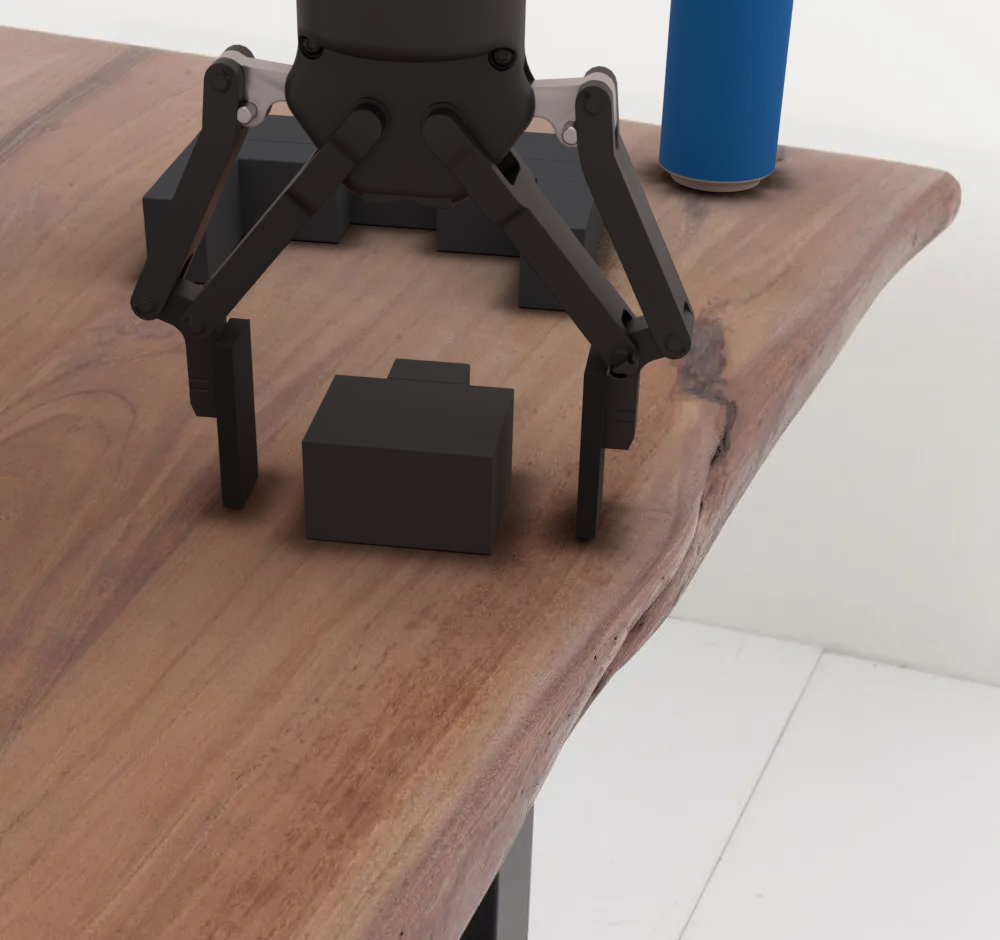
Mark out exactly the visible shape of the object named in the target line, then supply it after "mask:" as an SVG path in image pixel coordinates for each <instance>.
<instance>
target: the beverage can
mask: <svg viewBox="0 0 1000 940" xmlns="http://www.w3.org/2000/svg"><path fill="white" fill-rule="evenodd" d="M794 2H795V1H794V0H670V8H669V17H668V19H669V20H668V33H667V45H666V58H665V59H666V60H665V70H664V71H665V72H664V83H663V84H664V86H663V88H664V89H663V100H662V111H661V124H660V125H661V127H660V136H659V137H660V140H659V151H658V152H659V153H658V164H659V165H660V167H661V168H662V169H663V170H665V172H667V173H669V174H670V177H671V179H672V180H673V181H674V182H676V184H679V185H681V186H683V187H686V188H689V189H693V190H697V191H703V192H712V193H734V192H735V193H736V192H741V191H747V190H750V189H753V188H754V187H756V186H758V185H759V184H760V182H761V180H763V179H765V178H767V177H769V176H771V174H773V173H774V171H775V169H776V161H777V154H778V143H779V136H780V135H779V134H780V126H781V116H782V108H783V98H784V90H785V81H786V73H787V72H786V71H787V63H788V54H789V46H790V35H791V26H792V18H793V9H794Z"/></svg>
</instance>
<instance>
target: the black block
mask: <svg viewBox="0 0 1000 940" xmlns="http://www.w3.org/2000/svg"><path fill="white" fill-rule="evenodd" d="M514 408H515V389H514V388H513V387H512V388H509V387H500V386H499V387H497V386H487V385H474V384H471V365H470V364H469V363H463V362H450V361H449V362H448V361H439V360H438V361H437V360H425V359H424V360H423V359H414V358H413V359H410V358H400V357H398V358H397V357H396V358H395V359H394V360H393V363H392V366H391V368H390V370H389V373H388V375H387V377H386V378H384V377H373V376H361V375H350V374H335V375H334V377H333V379H332V381H331V383H330V385H329V386H328V388H327V390H326V392H325V395H324V397H323V398H322V401H321V402H320V404H319V406H318V408H317V410H316V413H315V414H314V416H313V418H312V420H311V422H310V425H309V426H308V428H307V431H306V432H305V434H304V436H303V438H302V440H301V456H302V457H301V458H302V460H301V461H302V482H303V483H302V484H303V507H304V508H303V510H304V511H303V513H304V533H305V539H312V540H319V541H320V540H321V541H322V540H323V541H333V542H343V543H344V542H345V543H355V544H356V543H357V544H366V545H367V544H368V545H377V546H390V547H401V548H413V549H424V550H436V551H445V552H456V553H457V552H458V553H467V554H478V555H479V554H481V555H491V554H492V552H493V547H494V544H495V541H496V537H497V533H498V529H499V526H500V523H501V519H502V516H503V512H504V509H505V505H506V501H507V499H508V498H507V497H508V496H509V495H508V494H509V491H510V487H511V484H512V475H513V473H512V472H513V471H512V470H513V444H514V443H513V440H514V439H513V438H514V410H515V409H514Z"/></svg>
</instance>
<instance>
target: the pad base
mask: <svg viewBox="0 0 1000 940" xmlns="http://www.w3.org/2000/svg"><path fill="white" fill-rule="evenodd" d="M200 132H201V130H200V131H199V132H198V133H197V134H196V135H195V137H194V138H193V139H192V140H191V142H189V144H188V145H187V146H186V147H185V148H184V149H183V151H182V152H181V153H180V154H179V155H178V156H177V157H176V158H175V159H174V160H173V161H172V163H171V164H170V165H169V166H168V167H167V168H166V170H164V172H163V173H162V174H161V175H160V177H158V179H157V180H156V181H155V182H154V183H153V185H152V186H151V187H150V188H149V189H148V191H146V193H145V194H144V195H143V196H142V197H141V202H142V212H143V225H144V236H145V248H146V249H145V250H146V259H147V258H148V255H149V253H150V251H151V248H152V246H153V244H154V241H155V239H156V236H157V234H158V232H159V229H160V227H161V224H162V222H163V220H164V217H165V215H166V213H167V210H168V208H169V205H170V203H171V201H172V198H173V196H174V194H175V191H176V189H177V186H178V184H179V182H180V179H181V177H182V175H183V172H184V170H185V167H186V165H187V163H188V160H189V158H190V156H191V153H192V151H193V148H194V146H195V144H196V141H197V139H198V137H199V134H200ZM513 148H514V149H515V151H516V152H517V153H518V155H519V156H520V157H521V159H522V160H523V161H524V163H525V164H526V165H527V167H528V168H529V169H530V171H531V172H532V174H533V176H534V179H535V182H536V184H537V186H538V188H539V189H540V190H541V192H542V193H543V194H544V196H545V197H546V198H547V200H548V201H549V202H550V204H551V205H552V206H553V208H554V209H555V210H556V212H557V213H558V214H559V216H560V217H561V218H562V219H563V221H564V222H565V223H566V225H567V226H568V227H569V229H570V230H571V231H572V233H573V234H574V235H575V237H576V238H577V239H578V241H579V242H580V243H581V244H582V246H583V247H584V248H585V250H586V251H587V252H588V254H589V255H590V256H591V258H592V259H593V260H594V261H595V260H596V255H597V251H598V247H599V243H600V240H601V236H602V232H603V228H604V226H605V224H604V222H603V219H602V217H601V215H600V212H599V210H598V208H597V205H596V203H595V201H594V198H593V196H592V194H591V191H590V189H589V187H588V184H587V182H586V179H585V177H584V174H583V171H582V168H581V163H580V159H579V154H578V148H569V147H567V146H564V145H563V144H562V143H560V141H559V140H558V138H557V136H556V133H552V132H550V133H549V132H537V131H524V133H523V134H522V135H521V137H520V138H519V139H518V140H517V142H516V143H515V144H514V146H513ZM316 150H317V148H316V147H315V145H314V144H313V142H312V141H311V140H310V138H309V137H308V135H307V134H306V132H305V131H304V130H303V128H302V127H301V125H300V124H299V123H298V121H297V120H296V118H295V117H294V116H293V115H282V114H268V115H267V117H266V118H265V119H264V120H263V122H262V123H261V124H260V125H258V126H256V127H249V129H248V132H247V135H246V138H245V140H244V142H243V145H242V147H241V149H240V151H239V154H238V156H237V158H236V161H235V163H234V165H233V168H232V170H231V172H230V174H229V177H228V179H227V181H226V184H225V186H224V188H223V190H222V193H221V195H220V197H219V200H218V202H217V204H216V206H215V209H214V211H213V213H212V216H211V218H210V220H209V222H208V225H207V227H206V229H205V232H204V234H203V236H202V238H201V241H200V243H199V245H198V248H197V250H196V252H195V255H194V257H193V259H192V261H191V264H190V266H189V268H188V271H187V273H186V275H185V277H184V279H185V280H188V281H190V282H192V283H197V284H198V283H199V284H205V283H207V282H208V280H209V279H210V278H211V277H212V276H213V274H214V273H215V272H216V271H217V270H218V268H219V267H220V266H221V265H222V264H223V262H224V261H225V260H226V259H227V258H228V256H229V255H230V254H231V253H232V252H233V250H234V249H235V248H236V247H237V245H238V244H239V243H240V242H239V241H240V240H241V239H242V238H243V237H245V236H246V235H247V234H248V232H249V231H250V230H251V229H252V228H253V226H254V225H255V224H256V223H257V222H258V220H259V219H260V218H261V217H262V215H263V214H264V213H265V212H266V211H267V209H268V208H269V207H270V206H271V205H272V203H273V202H274V201H275V200H276V199H277V197H278V196H279V195H280V194H281V193H282V191H283V190H284V189H285V188H286V187H287V185H288V184H289V183H290V182H291V181H292V179H293V178H294V177H295V176H296V175H297V173H298V172H299V171H300V170H301V168H302V167H303V166H304V165H305V163H306V162H307V161H308V160H309V158H310V157H311V156H312V155H313V153H314V152H315V151H316ZM350 224H359V225H372V226H386V227H400V228H413V229H428V230H436V250H437V251H442V252H456V253H457V252H458V253H467V254H481V255H482V254H483V255H494V256H495V255H496V256H511V257H519V269H518V270H519V271H518V273H519V274H518V301H517V303H518V308H526V309H527V308H528V309H541V310H554V311H565V310H564V309H563V308H562V307H561V305H560V304H559V303H558V301H557V300H556V299H555V297H554V296H553V295H552V294H551V292H550V291H549V290H548V288H547V287H546V286H545V285H544V283H543V282H542V281H541V279H540V278H539V277H538V276H537V274H536V273H535V272H534V270H533V269H532V268H531V267H530V265H529V264H528V263H527V261H526V260H525V259H524V258H523V256H522V255H521V254H520V252H519V251H518V250H517V249H516V247H515V246H514V245H513V243H512V242H511V241H510V240H509V238H508V237H507V236H506V234H505V233H504V232H503V231H502V230H501V229H500V228H498V227H495V226H494V225H493V224H492V223H491V222H490V221H489V220H488V219H487V218H486V216H485V215H484V214H483V212H482V211H481V210H480V209H479V207H478V206H477V205H476V203H475V202H474V201H473V200H472V198H471V197H470V198H469V199H467V200H465V201H463V202H460V203H457V204H454V205H453V208H452V209H438V208H429V207H426V206H423V205H420V204H417V203H414V202H411V201H401V202H396V203H391V204H386V205H380V204H365V203H363V198H362V197H360V196H358V195H356V194H354V193H352V192H351V191H349V190H348V189H347V188H346V187H345V186H344V185H343V184H342V183H341V184H340V185H339V186H338V187H337V188H336V190H335V191H334V192H333V193H332V194H331V195H330V197H329V198H328V199H327V200H326V201H325V202H324V204H323V205H322V206H321V207H320V208H319V209H318V211H317V212H316V213H315V214H314V215H313V216H312V217H311V218H310V219H309V220H308V221H307V222H306V224H305V225H304V226H303V227H302V228H301V230H300V231H299V232H298V233H297V234H296V235H295V237H294V238H293V239H292V240H291V241H293V240H294V241H307V242H323V243H335V244H338V243H340V241H341V239H342V238H343V236H344V234H345V233H346V231H347V229H348V228H349V226H350Z"/></svg>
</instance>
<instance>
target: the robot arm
mask: <svg viewBox="0 0 1000 940" xmlns="http://www.w3.org/2000/svg"><path fill="white" fill-rule="evenodd" d="M295 6H296V7H295V8H296V9H295V10H296V31H297V32H296V33H297V34H296V35H297V50H296V54H295V57H294V61H293V63H292V64H289V63H283V62H277V61H272V60H266V59H260V58H256V57H255V55H254V54H253V52H252V51H251V50H250V48H248V46H245V45H242V44H232V45H229V46H227V48H226V49H225V50H224V51H223V52H222V53H221V54H220V55H218V56H217V58H216V59H215V60H214V61H213V62H212V63H211V64H210V65H209V66H208V67H207V69H206V70H205V72H204V74H203V75H204V76H203V87H202V111H201V112H202V113H201V129H200V131H201V132H200V131H199V132H200V134H199V137H198V139H197V141H196V144H195V146H194V148H193V151H192V153H191V156H190V158H189V160H188V163H187V165H186V167H185V170H184V172H183V175H182V177H181V179H180V182H179V184H178V186H177V189H176V191H175V194H174V196H173V198H172V201H171V203H170V205H169V208H168V210H167V213H166V215H165V217H164V220H163V222H162V224H161V227H160V229H159V232H158V234H157V236H156V239H155V241H154V244H153V246H152V248H151V251H150V253H149V255H148V258H147V257H146V260H145V263H144V265H143V268H142V270H141V272H140V274H139V277H138V279H137V282H136V284H135V287H134V289H133V291H132V294H131V297H130V301H129V304H130V308H131V310H132V312H133V313H134V315H135V316H136V317H137V318H139V319H141V320H144V321H154V320H159V321H161V322H164V323H166V324H169V325H171V326H173V327H174V328H175V329H177V330H178V331H179V333H180V334H181V335H182V337H183V339H184V343H185V353H186V366H187V367H186V369H187V378H188V388H189V389H188V393H189V404H190V406H191V409H192V410H193V412H194V415H195V416H196V417H198V418H199V417H200V418H212V419H216V429H217V431H216V432H217V442H218V444H217V445H218V456H219V457H218V458H219V459H218V460H219V461H218V462H219V473H220V475H219V476H220V488H221V489H220V490H221V500H222V501H221V502H222V503H221V504H222V508H232V509H243V508H244V505H245V504H246V502H247V500H248V497H249V496H250V494H251V492H252V490H253V488H254V486H255V485H256V483H257V481H258V479H259V459H258V442H257V426H256V424H257V423H256V422H257V421H256V406H255V386H254V370H253V369H254V368H253V352H252V334H251V319H250V318H240V317H239V318H238V317H229V319H228V320H227V317H228V316H229V314H230V313H231V312H232V311H233V310H234V308H236V307H237V306H238V304H239V302H241V300H242V299H243V298H244V297H245V296H246V294H247V293H248V292H249V291H250V290H251V289H252V287H253V286H254V285H255V284H256V282H258V280H259V279H260V278H261V277H262V275H263V274H264V273H265V272H266V271H267V270H268V268H269V267H270V266H272V264H273V262H274V261H275V260H276V259H277V258H278V257H279V255H281V253H282V252H283V251H284V250H285V249H286V247H287V246H289V244H290V242H291V241H293V240H292V239H293V238H294V237H295V235H296V234H297V233H298V232H299V231H300V230H301V228H302V227H303V226H304V225H305V224H306V222H307V221H308V220H309V219H310V218H311V217H312V216H313V215H314V214H315V213H316V212H317V211H318V209H319V208H320V207H321V206H322V205H323V204H324V202H325V201H326V200H327V199H328V198H329V197H330V195H331V194H332V193H333V192H334V191H335V190H336V188H337V187H338V186H339V185H340V184H341V183H342V184H343V185H344V186H345V187H346V188H347V189H348V190H349V191H351V192H352V193H354V194H356V195H358V196H360V197H362V198H363V203H365V204H380V205H386V204H391V203H396V202H401V201H411V202H414V203H417V204H420V205H423V206H426V207H429V208H438V209H452V208H453V205H454V204H457V203H460V202H463V201H465V200H467V199H469V198H470V197H471V198H472V200H473V201H474V202H475V203H476V205H477V206H478V207H479V209H480V210H481V211H482V212H483V214H484V215H485V216H486V218H487V219H488V220H489V221H490V222H491V223H492V224H493V225H494V226H495V227H498V228H500V229H501V230H502V231H503V232H504V233H505V234H506V236H507V237H508V238H509V240H510V241H511V242H512V243H513V245H514V246H515V247H516V249H517V250H518V251H519V252H520V254H521V255H522V256H523V258H524V259H525V260H526V261H527V263H528V264H529V265H530V267H531V268H532V269H533V270H534V272H535V273H536V274H537V276H538V277H539V278H540V279H541V281H542V282H543V283H544V285H545V286H546V287H547V288H548V290H549V291H550V292H551V294H552V295H553V296H554V297H555V299H556V300H557V301H558V303H559V304H560V305H561V307H562V308H563V309H564V310H563V311H564V312H565V314H567V316H568V317H569V318H570V320H572V322H573V323H574V325H575V326H576V327H577V329H578V330H579V331H580V332H581V334H582V335H583V336H584V337H585V339H586V340H587V341H588V343H589V344H590V347H589V351H588V354H587V359H586V364H585V367H584V373H583V381H582V382H583V383H582V401H581V420H580V421H581V422H580V423H581V424H580V438H579V439H580V441H579V444H580V445H579V458H578V459H579V460H578V476H577V477H578V480H577V496H576V497H577V499H576V519H575V536H574V537H576V538H586V539H587V538H588V539H596V537H597V532H598V527H599V523H600V522H599V521H600V517H601V512H602V506H603V492H604V478H605V477H604V474H605V460H606V459H605V458H606V449H608V450H620V451H629V450H630V447H631V445H632V443H633V442H634V440H635V435H636V430H637V424H638V415H639V399H640V398H639V397H640V384H641V371H642V369H644V367H645V366H647V364H649V363H651V362H653V361H656V360H660V359H664V358H666V359H669V360H680V359H682V358H684V357H686V356H687V355H688V354H689V353H690V351H691V347H692V343H693V336H694V329H695V328H694V327H695V318H696V317H695V312H694V309H693V306H692V304H691V301H690V299H689V297H688V294H687V291H686V290H685V287H684V285H683V283H682V280H681V277H680V275H679V273H678V271H677V267H676V266H675V264H674V261H673V259H672V256H671V254H670V253H671V252H670V250H669V249H668V246H667V244H666V242H665V239H664V237H663V234H662V231H661V229H660V227H659V225H658V222H657V220H656V218H655V215H654V212H653V209H652V208H651V205H650V203H649V200H648V198H647V196H646V193H645V190H644V188H643V186H642V183H641V182H640V178H639V176H638V174H637V171H636V170H635V169H636V168H635V167H634V165H633V162H632V160H631V157H630V155H629V152H628V150H627V147H626V145H625V142H624V141H623V138H622V135H621V131H620V110H619V107H620V106H619V90H618V89H619V88H618V86H619V85H618V80H617V75H616V74H615V73H614V72H613V70H612V69H609V68H608V67H606V66H601V65H597V66H592V67H591V68H589V69H588V70H587V71H586V72H585V74H584V75H583V76H581V77H565V78H564V77H563V78H543V79H535V76H534V75H533V73H532V71H531V69H530V66H529V63H528V59H527V55H526V18H527V17H526V16H527V15H526V14H527V13H526V12H527V0H295ZM280 102H285V103H286V105H287V107H288V110H289V111H290V113H291V114H292V116H294V117H295V118H296V120H297V121H298V123H299V124H300V125H301V127H302V128H303V130H304V131H305V132H306V134H307V135H308V137H309V138H310V140H311V141H312V142H313V144H314V145H315V147H316V148H317V150H316V151H315V152H314V153H313V155H312V156H311V157H310V158H309V160H308V161H307V162H306V163H305V165H304V166H303V167H302V168H301V170H300V171H299V172H298V173H297V175H296V176H295V177H294V178H293V179H292V181H291V182H290V183H289V184H288V185H287V187H286V188H285V189H284V190H283V191H282V193H281V194H280V195H279V196H278V197H277V199H276V200H275V201H274V202H273V203H272V205H271V206H270V207H269V208H268V209H267V211H266V212H265V213H264V214H263V215H262V217H261V218H260V219H259V220H258V222H257V223H256V224H255V225H254V226H253V228H252V229H251V230H250V231H249V232H248V234H247V235H246V236H243V237H242V240H241V241H240V242H238V243H237V245H236V246H235V247H234V249H233V250H232V251H231V253H230V254H229V256H228V257H227V259H226V260H225V261H224V262H223V264H222V265H221V266H220V267H219V268H218V270H217V271H216V272H215V273H214V274H213V276H212V277H211V278H210V279H209V280H208V282H207V283H204V284H203V286H201V285H200V284H198V283H196V282H190V281H188V280H185V279H184V277H185V275H186V273H187V271H188V268H189V266H190V264H191V261H192V259H193V257H194V255H195V252H196V250H197V248H198V245H199V243H200V241H201V238H202V236H203V234H204V232H205V229H206V227H207V225H208V222H209V220H210V218H211V216H212V213H213V211H214V209H215V206H216V204H217V202H218V200H219V197H220V195H221V193H222V190H223V188H224V186H225V184H226V181H227V179H228V177H229V174H230V172H231V170H232V168H233V165H234V163H235V161H236V158H237V156H238V154H239V151H240V149H241V147H242V145H243V142H244V140H245V138H246V135H247V132H248V129H249V127H256V126H258V125H260V124H261V123H262V122H263V120H264V119H265V118H266V117H267V115H270V113H271V111H272V108H273V105H274V104H276V103H280ZM534 118H540V119H542V120H543V119H544V120H546V121H547V122H548V123H549V124H550V125H551V127H552V128H553V131H554V134H556V136H557V138H558V140H559V141H560V143H562V144H563V145H564V146H567V147H569V148H578V154H579V159H580V163H581V168H582V171H583V174H584V177H585V179H586V182H587V184H588V187H589V189H590V191H591V194H592V196H593V198H594V201H595V203H596V205H597V208H598V210H599V212H600V215H601V217H602V219H603V222H604V226H605V228H606V231H607V233H608V236H609V238H610V240H611V243H612V245H613V247H614V250H615V252H616V254H617V257H618V259H619V261H620V264H621V266H622V269H623V271H624V273H625V275H626V278H627V280H628V282H629V285H630V288H631V289H632V292H633V293H634V296H635V299H636V301H637V303H638V306H639V307H640V310H641V313H642V315H639V316H637V315H636V314H635V313H634V311H633V310H632V309H631V307H630V306H629V305H628V304H627V302H626V300H624V298H623V297H622V295H620V293H619V292H618V290H617V289H616V288H615V287H614V285H613V284H612V282H611V281H610V280H609V279H608V277H607V276H606V275H605V274H604V272H603V270H602V269H601V267H599V266H598V264H597V263H596V262H595V259H594V260H593V259H592V258H591V256H590V255H589V254H588V252H587V251H586V250H585V248H584V247H583V246H582V244H581V243H580V242H579V241H578V239H577V238H576V237H575V235H574V234H573V233H572V231H571V230H570V229H569V227H568V226H567V225H566V223H565V222H564V221H563V219H562V218H561V217H560V216H559V214H558V213H557V212H556V210H555V209H554V208H553V206H552V205H551V204H550V202H549V201H548V200H547V198H546V197H545V196H544V194H543V193H542V192H541V190H540V189H539V188H538V186H537V184H536V182H535V179H534V176H533V174H532V172H531V171H530V169H529V168H528V167H527V165H526V164H525V163H524V161H523V160H522V159H521V157H520V156H519V155H518V153H517V152H516V151H515V149H514V148H513V146H514V144H515V143H516V142H517V140H518V139H519V138H520V137H521V135H522V134H523V133H524V132H526V130H527V129H528V128H529V126H530V125H531V123H532V121H533V119H534Z"/></svg>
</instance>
